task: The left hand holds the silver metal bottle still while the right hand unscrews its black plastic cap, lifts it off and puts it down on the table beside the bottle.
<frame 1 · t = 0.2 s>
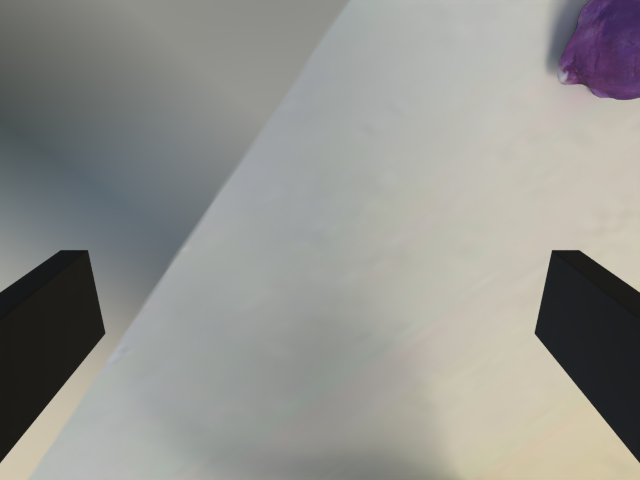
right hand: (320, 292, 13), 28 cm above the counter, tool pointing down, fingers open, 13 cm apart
figurine: (619, 32, 35), on the counter
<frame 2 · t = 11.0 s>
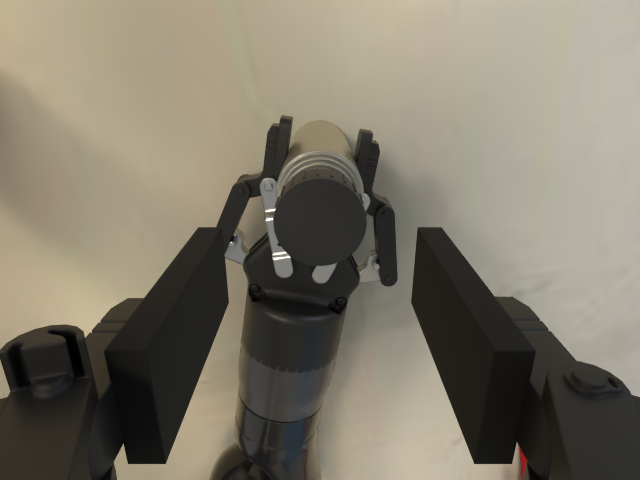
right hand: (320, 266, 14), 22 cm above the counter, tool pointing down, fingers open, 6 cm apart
left hand: (326, 125, 28), fingers closed on bottle, 4 cm apart
cap: (319, 221, 18), point 18 cm above the counter, screwed on, not yet turned
bottle: (319, 149, 35), on the counter, touching left hand
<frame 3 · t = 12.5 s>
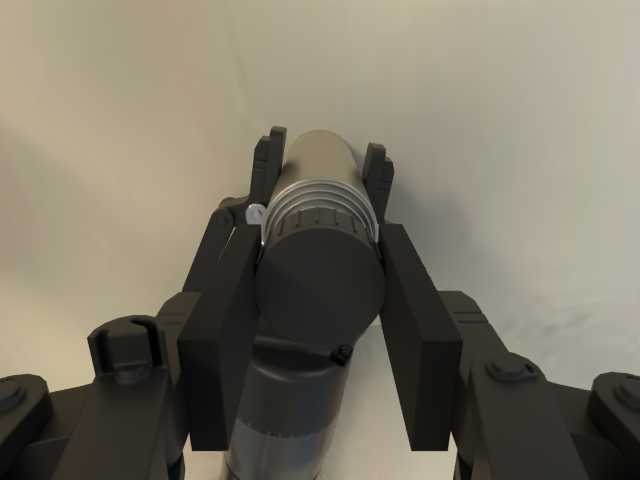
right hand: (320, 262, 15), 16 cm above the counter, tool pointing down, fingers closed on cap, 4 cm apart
left hand: (327, 138, 23), fingers closed on bottle, 4 cm apart
cap: (319, 285, 13), point 18 cm above the counter, screwed on, not yet turned, touching right hand
bottle: (319, 163, 30), on the counter, touching left hand
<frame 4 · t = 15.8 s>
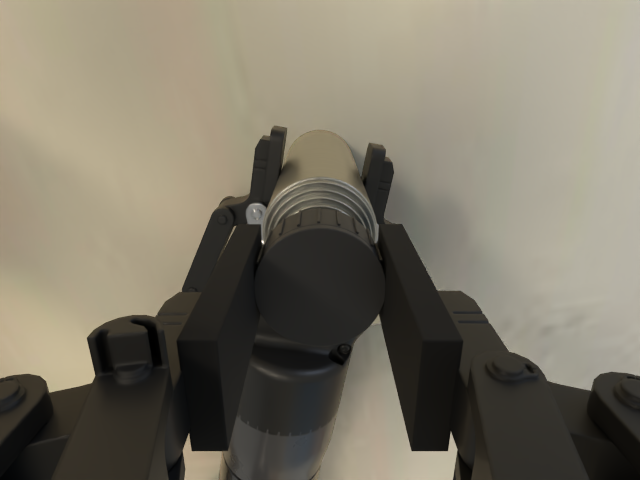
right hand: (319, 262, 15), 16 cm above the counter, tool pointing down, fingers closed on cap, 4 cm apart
left hand: (328, 138, 23), fingers closed on bottle, 4 cm apart
cap: (319, 286, 13), point 18 cm above the counter, turned 119° so far, risen 0.1 cm, still on its thread, touching right hand
bottle: (319, 163, 30), on the counter, touching left hand
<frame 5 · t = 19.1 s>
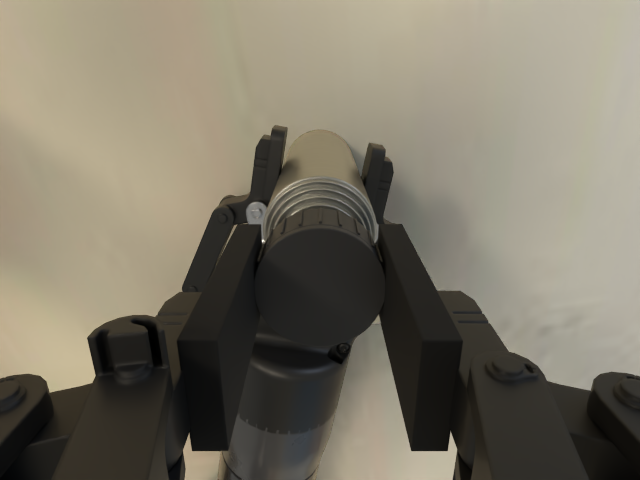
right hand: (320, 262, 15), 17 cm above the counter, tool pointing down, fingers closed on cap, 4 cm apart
left hand: (328, 138, 23), fingers closed on bottle, 4 cm apart
cap: (319, 286, 13), point 18 cm above the counter, turned 238° so far, risen 0.3 cm, still on its thread, touching right hand
bottle: (319, 163, 30), on the counter, touching left hand
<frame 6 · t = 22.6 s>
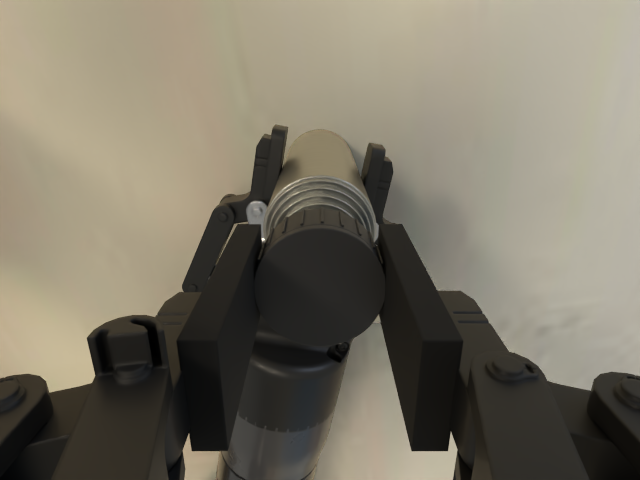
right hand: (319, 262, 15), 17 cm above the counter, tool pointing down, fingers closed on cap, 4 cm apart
left hand: (328, 138, 23), fingers closed on bottle, 4 cm apart
cap: (319, 286, 13), point 18 cm above the counter, turned 357° so far, risen 0.4 cm, still on its thread, touching right hand
bottle: (319, 163, 30), on the counter, touching left hand
when the right hand's fingers open (2 cm above the counter, at t = 29.0 s): cap drops 2 cm, point 2 cm above the counter.
when the left hand's fingers open (7 cm above the counter, at t = 30.3 s): bottle stays where it is, on the counter.
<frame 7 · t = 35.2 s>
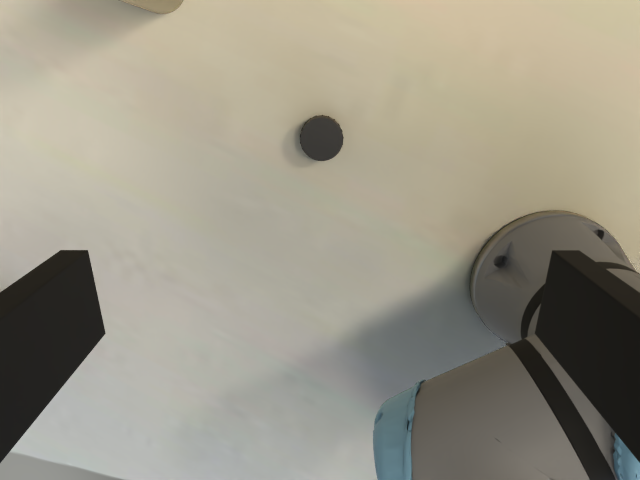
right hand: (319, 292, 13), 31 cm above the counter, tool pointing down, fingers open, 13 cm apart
cap: (321, 139, 40), point 2 cm above the counter, off its thread
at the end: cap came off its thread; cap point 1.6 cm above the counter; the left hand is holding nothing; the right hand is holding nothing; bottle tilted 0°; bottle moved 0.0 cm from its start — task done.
